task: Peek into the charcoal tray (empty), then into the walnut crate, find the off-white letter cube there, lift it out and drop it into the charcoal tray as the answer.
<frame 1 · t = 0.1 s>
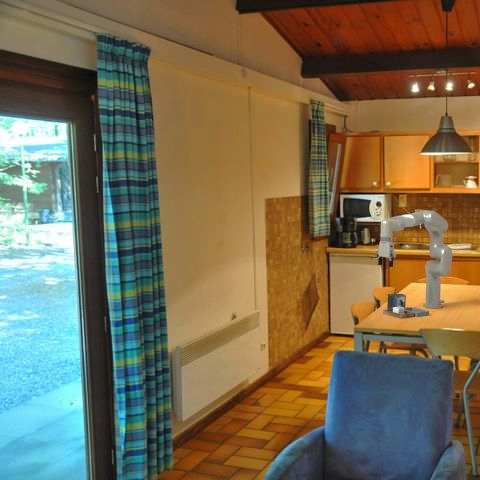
hand: (385, 265, 452), 31 cm above the table, fingers open, 9 cm apart
letter cube: (398, 311, 449), in the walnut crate
small box: (396, 310, 467), on the table
charcoal tray: (414, 314, 454), on the table
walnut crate: (398, 315, 449), on the table
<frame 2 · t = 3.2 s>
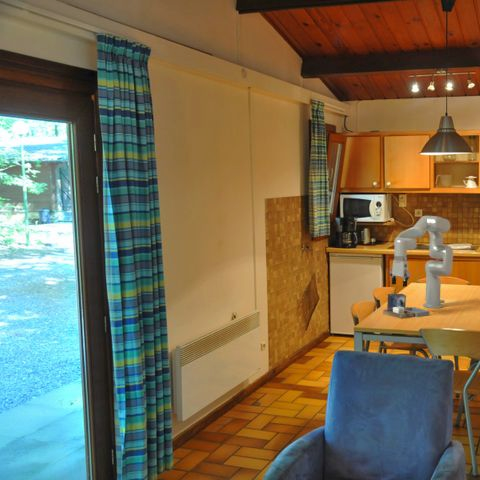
hand: (399, 285, 447), 20 cm above the table, fingers open, 9 cm apart
nothing on the table moved.
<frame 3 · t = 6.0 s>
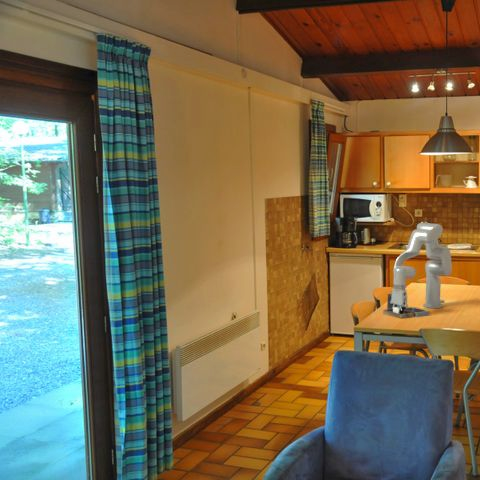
hand: (398, 314, 449), 1 cm above the table, fingers closed on letter cube, 4 cm apart
letter cube: (398, 311, 449), in the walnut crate, touching gripper
everything else where it was.
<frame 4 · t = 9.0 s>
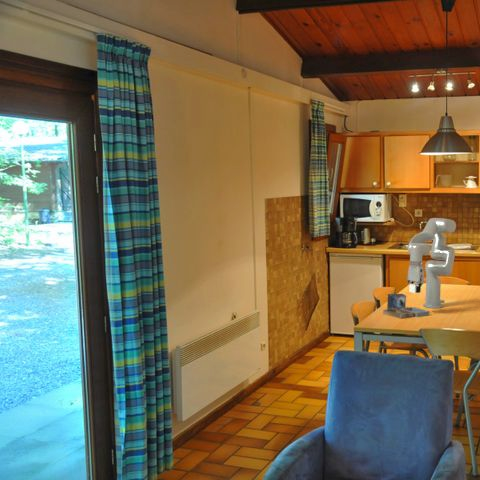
hand: (414, 291, 452), 15 cm above the table, fingers closed on letter cube, 4 cm apart
letter cube: (415, 288, 452), point 17 cm above the table, touching gripper
everything else where it was.
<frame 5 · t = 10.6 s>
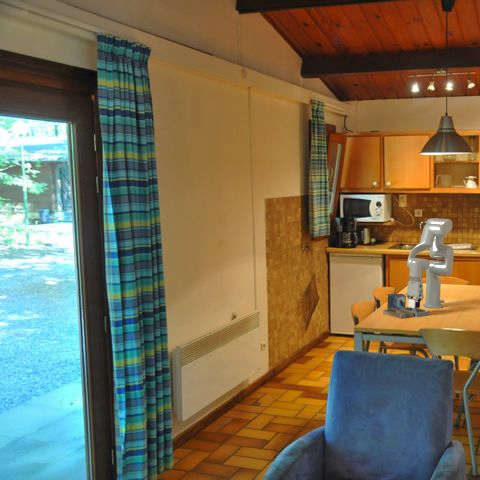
hand: (414, 306, 453), 5 cm above the table, fingers closed on letter cube, 4 cm apart
letter cube: (414, 303, 453), point 7 cm above the table, touching gripper
everything else where it was.
when the fingers open (3 cm above the table, at t = 11.9 s): letter cube drops 2 cm, resting on charcoal tray.
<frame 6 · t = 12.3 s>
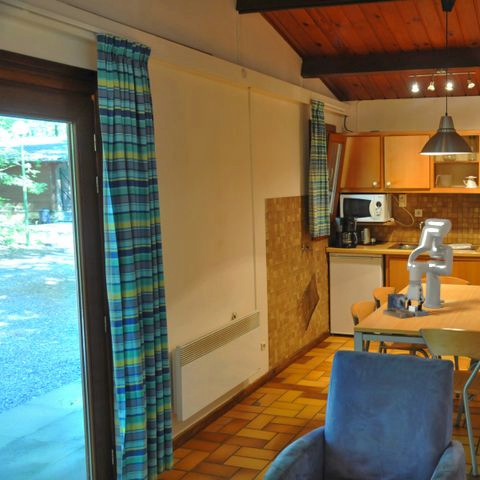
hand: (414, 309, 453), 3 cm above the table, fingers open, 8 cm apart
letter cube: (414, 310, 453), in the charcoal tray
everything else where it was.
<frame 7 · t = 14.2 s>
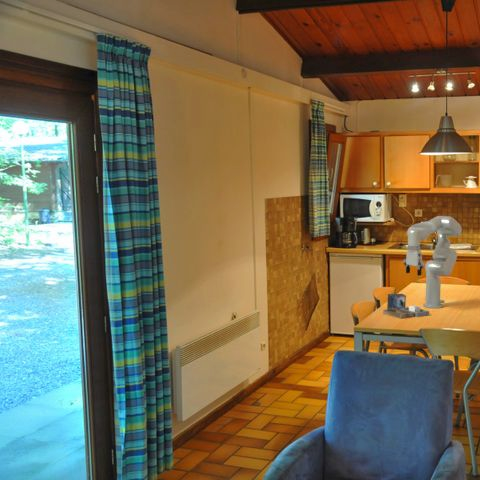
hand: (413, 274, 458), 25 cm above the table, fingers open, 9 cm apart
nothing on the table moved.
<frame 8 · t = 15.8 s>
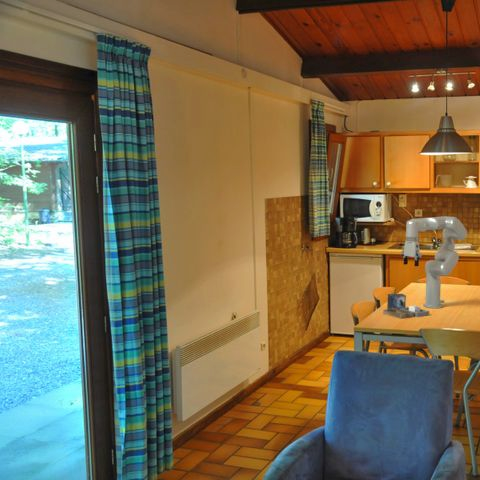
hand: (410, 265, 462), 30 cm above the table, fingers open, 9 cm apart
nothing on the table moved.
at the end: letter cube inside the target area on the charcoal tray (0.1 cm from its centre), point 2.9 cm above the charcoal tray's base; letter cube tilted 0°; the gripper is holding nothing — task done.
